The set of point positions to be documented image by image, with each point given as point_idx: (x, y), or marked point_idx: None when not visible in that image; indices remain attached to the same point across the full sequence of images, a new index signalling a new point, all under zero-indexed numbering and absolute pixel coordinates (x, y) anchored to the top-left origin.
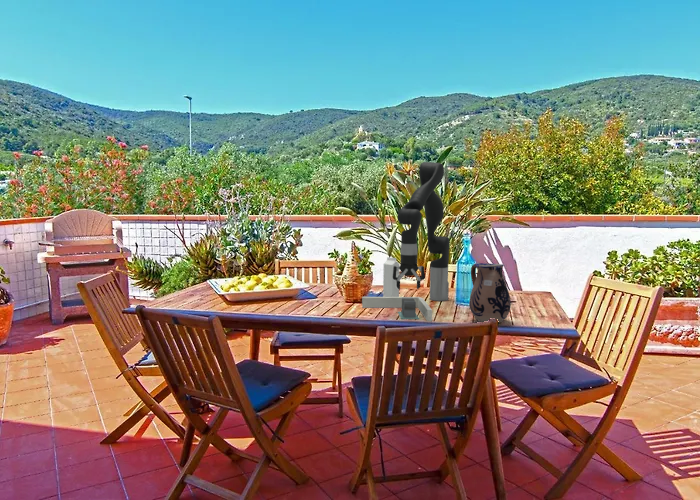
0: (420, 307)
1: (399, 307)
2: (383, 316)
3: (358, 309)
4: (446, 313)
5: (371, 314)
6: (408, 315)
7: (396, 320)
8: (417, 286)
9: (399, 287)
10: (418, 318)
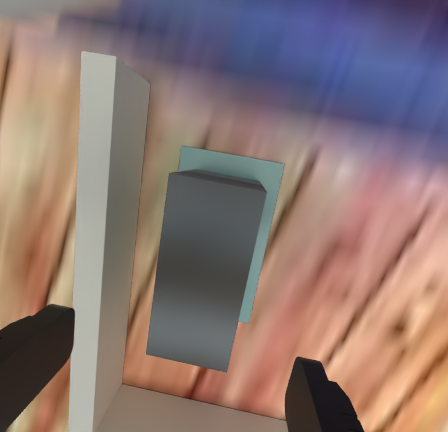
0: (118, 328)
1: (208, 404)
2: (359, 247)
3: (428, 418)
4: (11, 249)
5: (407, 304)
6: (235, 177)
7: (322, 137)
8: (44, 327)
9: (312, 371)
10: (185, 146)
